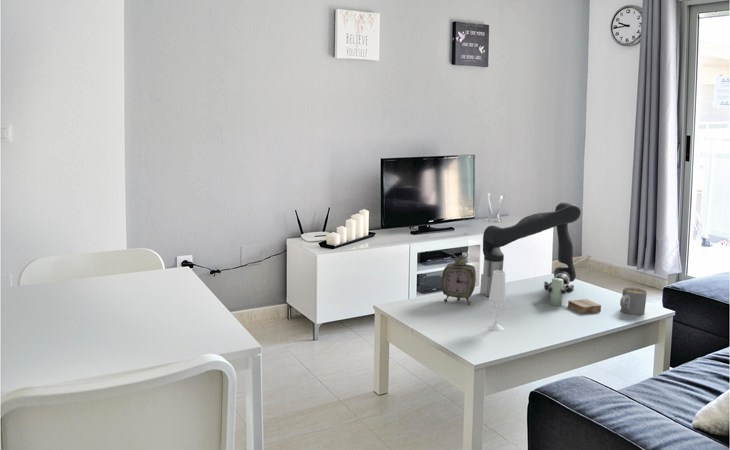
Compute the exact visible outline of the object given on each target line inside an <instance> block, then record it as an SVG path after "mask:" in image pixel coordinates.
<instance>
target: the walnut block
mask: <svg viewBox="0 0 730 450" xmlns="http://www.w3.org/2000/svg"><path fill="white" fill-rule="evenodd" d="M567 304H568V305H567V307H568V308H569V309H571V310H573V311H575V312H578V313H579V314H582V315H583V314H584V315H585V314H591V313H601V310H602V304H599V303H596V302H594V301H592V300H589V299H587V298H581V299H572V300H568V303H567Z"/></svg>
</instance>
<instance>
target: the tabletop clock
mask: <svg viewBox="0 0 730 450" xmlns="http://www.w3.org/2000/svg"><path fill="white" fill-rule="evenodd" d="M456 252H463V253H465V254H466V256H462V255H459V256H458V255H457V256H456V255H455V253H456ZM452 255H453V257H455V258H456V260H455V261H454V262H451V263H448V264H446V266H445V267H444V269H443V271H442V274H441V275H442V276H441V290H442V293H443V295H445V296H446V298H444V299H443V302H444V303H447V302H448V299H449V297H451V298H456V301H458V302H460V301H461V299H466V301H467V302H466V305H467V306H471V302H470V301H469V298H471V296H472V294H473V292H474V291H475V288H476V281H477V274H476V269H475V266H473V265H471V264H467V263H466V260H464V259H467V258H468V257H469V253H468V252H467V251H466V250H465V249H459V248H458V249H455V250H453V252H452Z"/></svg>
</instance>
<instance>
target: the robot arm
mask: <svg viewBox="0 0 730 450" xmlns="http://www.w3.org/2000/svg"><path fill="white" fill-rule="evenodd" d="M581 212H582V211H581V209H580V207H579V206H578V205H576V204H574V203H568V202H560V203H558V204H557V205H556V206H555V211H547V212H538V213H534V214H531V215H528V216H527V215H526V216H525V217H523V218H521V219H520V220H519V221H518V222H517V223H516V224H514V225H511V226H508V227H507V226H506V227H500V226H496V225H489V226H487V227H486V228H485V229H484V231H483V236H482V253H483V271H482V274H481V275H480V287H479V288H480V290H479V291H480V292H479V293H480V294H481V295H483V296H485V297H489V295H490V289H491V283H492V277H493V271H496V270H500V271H504V270H503V269H504V259H505V256H504V253H503V252H502V250H501V247H504V246H507V245H509V244H511V243H512V242H516V241H517V240H520V239H523V238H526V237H530V236H533V235H536V234H539V233H541V232H544V231H546V230H549V229H552V228H555V227H556V231H557V232H556V233H557V244H558V248H557V261H558V262H559V263H561V264H565V265H566V267H565V266H558V267H555V269H554V271H553V276H554V277H553V278H560V279H563V289H562V295H564V294H566V293H568V294H570V293H572V292H574V290H575V286H574V284H571V285H570V283H571V282H572V283H573V282H574V281H575V280H576V278H577V273H576V269H575V266H574V258H573V257H574V256H573V255H574V253H573V252H574V247H573V242H572V239H571V235H570V232H569V228H568V227H569V226H568V224H572V223H575V222H576V221H578V219H579V218H580V217H581ZM543 285H544V286H543V287H544V290H545V291H548V293H550V294H551V288H552V281H551V282H548V281H544V283H543Z"/></svg>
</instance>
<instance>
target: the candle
mask: <svg viewBox="0 0 730 450" xmlns="http://www.w3.org/2000/svg"><path fill="white" fill-rule="evenodd" d="M551 282H552V288H551V293H550V301H549V302H550V303H549V304H550V306H553V307H560V306H562V304H563V303H562V301H563V294H562V289H563V279H560V278H554V277H553V278H552V279H551Z"/></svg>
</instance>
